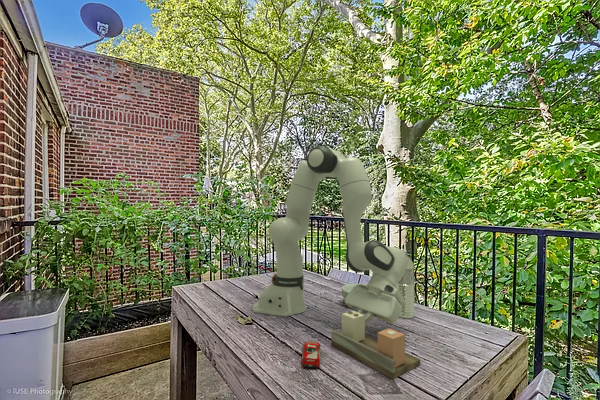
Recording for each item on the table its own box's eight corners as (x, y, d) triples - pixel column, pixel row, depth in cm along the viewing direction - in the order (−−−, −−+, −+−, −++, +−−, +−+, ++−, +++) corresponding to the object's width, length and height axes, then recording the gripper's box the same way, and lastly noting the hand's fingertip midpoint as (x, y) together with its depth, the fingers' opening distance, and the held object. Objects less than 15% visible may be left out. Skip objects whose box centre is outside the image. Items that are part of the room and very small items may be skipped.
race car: (303, 347, 94) (303, 334, 94) (321, 348, 93) (321, 335, 93) (299, 370, 80) (299, 354, 80) (320, 371, 80) (320, 355, 80)
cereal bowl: (334, 300, 139) (334, 285, 139) (364, 296, 146) (364, 282, 146) (355, 312, 123) (355, 295, 124) (387, 307, 130) (387, 291, 130)
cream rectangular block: (353, 333, 99) (353, 309, 99) (364, 339, 95) (364, 314, 95) (341, 337, 96) (342, 312, 96) (353, 343, 92) (353, 317, 92)
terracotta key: (389, 355, 84) (389, 327, 85) (404, 362, 80) (404, 333, 81) (377, 360, 82) (377, 331, 82) (393, 368, 77) (393, 337, 78)
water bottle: (415, 319, 116) (415, 254, 117) (397, 318, 117) (396, 254, 118) (412, 313, 123) (412, 252, 123) (395, 312, 124) (395, 251, 125)
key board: (357, 335, 101) (358, 322, 102) (420, 364, 83) (420, 348, 83) (331, 345, 94) (331, 330, 94) (392, 379, 76) (392, 361, 76)
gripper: (352, 278, 110) (332, 310, 104) (400, 290, 94) (380, 329, 88) (361, 288, 113) (342, 320, 107) (409, 302, 96) (390, 341, 90)
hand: (359, 324), depth 97 cm, fingers closed, pressing on cream rectangular block
